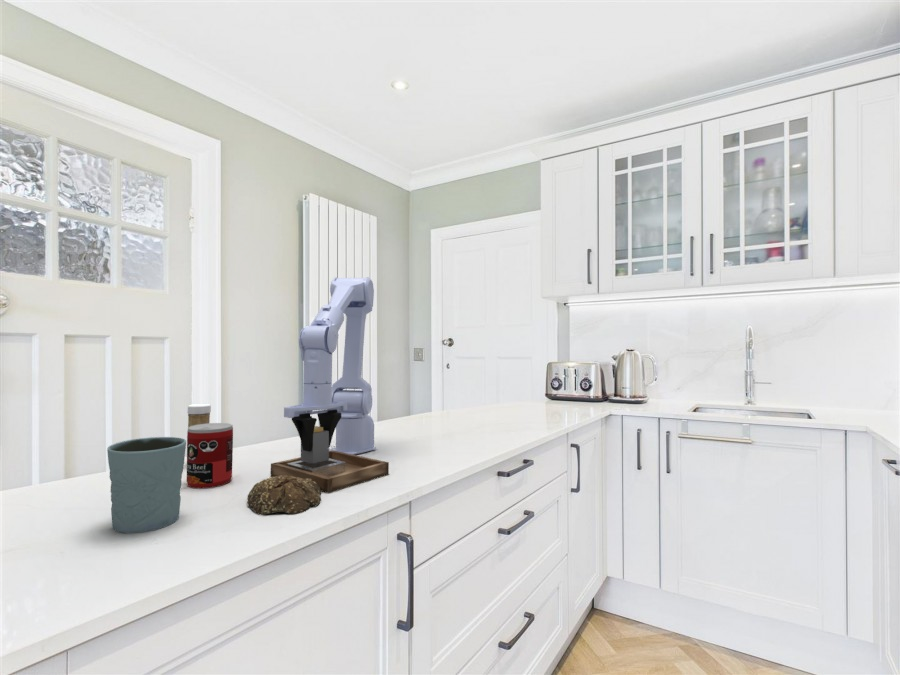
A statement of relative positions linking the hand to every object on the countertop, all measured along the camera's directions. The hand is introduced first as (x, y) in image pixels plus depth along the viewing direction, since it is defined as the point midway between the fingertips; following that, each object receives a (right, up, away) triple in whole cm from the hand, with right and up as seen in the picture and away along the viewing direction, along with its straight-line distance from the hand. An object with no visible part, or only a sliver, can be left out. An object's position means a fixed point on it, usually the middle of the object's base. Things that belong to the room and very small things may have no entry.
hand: (316, 448), depth 98 cm
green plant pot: (-18, -5, -26) cm, 33 cm away
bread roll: (-1, -6, -17) cm, 18 cm away
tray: (+3, -6, 0) cm, 6 cm away
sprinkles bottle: (-28, -6, +7) cm, 30 cm away
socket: (0, -6, 0) cm, 6 cm away
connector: (0, -3, 0) cm, 3 cm away
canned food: (-19, -6, -6) cm, 21 cm away
